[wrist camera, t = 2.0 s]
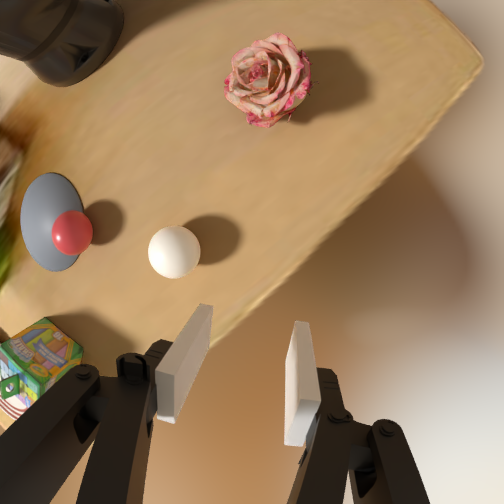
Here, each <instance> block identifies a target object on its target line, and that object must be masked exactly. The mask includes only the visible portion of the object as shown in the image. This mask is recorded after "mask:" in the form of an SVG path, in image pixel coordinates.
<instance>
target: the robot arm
mask: <svg viewBox="0 0 504 504" xmlns="http://www.w3.org/2000/svg"><path fill="white" fill-rule="evenodd" d="M123 20H124V17H123V11H122V9H121V7H120V6H119V5H118V4H117V3H116V2H115V1H114V0H0V55H4V56H7V57H11V58H14V59H17V60H20V61H23V62H24V63H25V64H26V65H27V66H28V67H29V68H30V69H31V70H32V71H33V72H34V73H35V74H36V75H37V76H38V78H39V79H40V80H42V81H43V82H45V83H47V84H50V85H53V86H56V87H66V86H70V85H73V84H75V83H77V82H79V81H81V80H83V79H84V78H86V77H87V76H88V75H90V74H91V73H92V72H93V71H94V70H95V69H96V68H97V67H98V66H99V65H100V64H101V63H102V62H103V61H104V60H105V59H106V57H107V56H108V55H109V53H110V52H111V51H112V49H113V47H114V46H115V44H116V42H117V40H118V38H119V36H120V33H121V30H122V27H123ZM212 315H213V306H210V305H205V304H199V306H198V307H197V309H196V310H195V312H194V313H193V315H192V316H191V318H190V319H189V321H188V322H187V323H186V325H185V326H184V328H183V329H182V331H181V332H180V334H179V335H178V337H177V338H176V340H175V341H174V342H170V341H166V340H162V339H160V340H158V341H157V342H155V343H153V344H152V345H151V347H150V348H149V350H147V352H146V353H145V355H141V354H138V353H126V354H123V355H121V356H119V357H118V358H117V359H116V364H117V373H118V377H105V376H99V371H98V370H97V368H95V367H94V366H92V365H88V364H79V365H75V366H74V367H72V368H71V369H69V370H68V371H67V372H66V373H65V374H64V375H63V376H62V377H61V378H60V379H59V380H58V381H57V382H55V383H54V384H53V385H52V386H51V387H50V388H49V389H48V390H47V391H46V392H45V393H44V394H43V395H42V396H41V397H40V398H39V399H38V400H36V401H35V402H34V403H33V404H32V405H31V406H30V407H29V408H28V409H27V410H26V411H25V412H24V413H23V414H22V415H21V416H20V417H19V418H18V419H17V420H16V421H15V422H14V423H13V424H12V425H11V426H10V427H9V428H8V429H7V430H6V431H5V432H4V433H3V434H2V435H1V436H0V504H49V503H50V502H51V500H52V499H53V498H54V496H55V495H56V493H57V492H58V490H59V489H60V487H61V486H62V485H63V483H64V482H65V480H66V479H67V477H68V476H69V475H70V473H71V472H72V470H73V469H74V468H75V466H76V465H77V463H78V462H79V461H80V459H81V458H82V456H83V455H84V453H85V452H86V451H87V449H88V448H89V446H90V445H91V444H92V442H93V441H94V439H95V441H94V444H93V447H92V450H91V453H90V456H89V460H88V463H87V466H86V469H85V472H84V476H83V479H82V483H81V486H80V490H79V493H78V497H77V501H76V504H142V502H143V494H144V485H145V478H146V470H147V463H148V456H149V449H150V443H151V437H152V431H153V417H154V415H155V413H156V411H157V419H160V420H163V421H166V422H170V423H175V422H176V419H177V417H178V415H179V413H180V411H181V408H182V406H183V404H184V402H185V400H186V397H187V395H188V393H189V391H190V388H191V386H192V384H193V382H194V380H195V378H196V375H197V373H198V371H199V369H200V366H201V364H202V362H203V360H204V358H205V355H206V353H207V351H208V349H209V343H210V334H211V324H212ZM285 382H286V383H285V384H286V385H285V388H286V389H285V437H284V445H291V446H303V444H304V442H305V439H306V449H305V451H304V453H303V455H302V457H301V459H300V461H299V464H300V465H299V469H298V472H297V475H296V478H295V481H294V484H293V487H292V490H291V493H290V496H289V499H288V502H287V504H343V499H344V493H345V487H346V480H347V474H348V471H349V477H350V482H351V489H352V495H353V501H354V504H430V502H429V499H428V496H427V493H426V490H425V487H424V485H423V482H422V479H421V476H420V474H419V471H418V468H417V466H416V463H415V461H414V458H413V455H412V453H411V450H410V448H409V445H408V443H407V440H406V438H405V435H404V433H403V430H402V429H401V427H400V426H399V425H398V424H397V423H395V422H394V421H391V420H387V419H381V420H377V421H376V422H374V424H373V425H372V426H370V425H366V424H362V423H359V422H356V421H354V420H353V416H352V415H351V413H350V412H349V411H347V410H346V409H345V408H344V404H343V400H342V395H341V392H340V387H339V384H338V379H337V375H336V374H335V373H334V372H333V371H332V370H331V369H326V368H317V367H316V363H315V357H314V350H313V344H312V338H311V332H310V326H309V322H302V321H295V324H294V328H293V333H292V337H291V341H290V346H289V349H288V353H287V357H286V380H285Z"/></svg>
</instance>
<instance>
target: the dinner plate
mask: <svg viewBox="0 0 504 504" xmlns="http://www.w3.org/2000/svg"><path fill="white" fill-rule="evenodd" d="M0 345H1V344H0ZM0 381H1V375H0ZM6 391H7V392H10V390H9V389H8V388H7V387H6ZM0 408H1V409H2V410H3V411H4V412H5V413H6V414H7V415H9V416H10V417H11V418H13V419H14V420H17V419H18V418H19V417H20V416H21V415H22V414H23V413H24V412H25V411H26V410H27V409H28V407H27V406H26V405H24V404H23V403H22V402H21V401H20V400H19V399H18V398H17V397H16V396H15V395H14V396H12V397H9V398H7V399H4V400H3V399H2V397H1V392H0Z"/></svg>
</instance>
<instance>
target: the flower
mask: <svg viewBox="0 0 504 504" xmlns="http://www.w3.org/2000/svg"><path fill="white" fill-rule="evenodd" d="M231 62H232V66H233V71H232V72H231V73H230V75H229V76H228V77H227V78H226V79H225V84H226V85H227V86H225V89H224V93H225V97H226V99H227V100H228V101H230V102H231V103H232V104H234V105H235V106H236V107H238V108H239V109H240V110H242V111H243V112H246V114H247V118H246V119H247V121H248V122H249V124H254V125H256V126H260V127H268V128H269V127H271V126H273V125H274V124H275V123H276V122H277V121H278V120H279V119H280V118H282V117H283V116H284V115H286V114H289V120H290V117H291V115H292V113H293V111H295V109H296V106H298V105H299V104H300V103H301V102H302V101H303V100H304V99H305V98H306V95H307V94H309V93H310V92H309V90H310V89H311V88H312V87H313V85H314V84H315V83H316V82H317V83H319V82H318V81H316V82H314V83H313V84H311V83H312V81H310V78H311V72H310V65H312V63H310V62H309V59H308V57H306V53H305V52H304V51H303V50H301V52H298V51H297V49H296V47H295V45H294V44H293V43H292V41H291V40H290V39H289V38H288V37H287V36H285V35H284V34H281V33H279V32H278V33H275V34H273V35H272V36H270V37H268V38H267V39H264V40H262V41H261V40H257V41H254V43H253V44H252V45H251V47H247V48H244V49H242V50H239V51H238V52H237V53H236V54H235V55H234V56H233V57H232V60H231ZM309 96H310V94H309ZM227 97H228V98H227ZM231 100H232V101H231ZM289 120H288V121H289ZM287 123H288V122H287Z"/></svg>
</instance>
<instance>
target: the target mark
mask: <svg viewBox="0 0 504 504" xmlns="http://www.w3.org/2000/svg"><path fill="white" fill-rule="evenodd" d="M70 210H76V211H79V212H82V213H83V208H82V205H81V201H80V199H79V196H78V194H77V192H76V190H75V189H74V187H73V186H72V184H71V183H70V182H69V181H68V180H67V179H66V178H64V177H63V176H61V175H58V174H54V173H47V174H43V175H41V176H39V177H38V178H36V179H35V180H34V181H33V182H32V183H31V185H30V186H29V188H28V189H27V191H26V194H25V196H24V199H23V203H22V208H21V229H22V235H23V238H24V242H25V244H26V247H27V249H28V251H29V253H30V254H31V256H32V257H33V258H34V260H35V261H36V262H37V263H38V264H39V265H40V266H42V267H43V268H45V269H47V270H50V271H62V270H65V269H67V268H68V267H70V266H71V265H72V264H73V263H74V262H75V260H76V259H77V257H78V255H79V254H78V255H66V254H63V253H62V252H60V251H59V250H58V249H57V248H56V246H55V245H54V243H53V240H52V227H53V224H54V222H55V220H56V219H57V217H58V216H59V215H61V214H62V213H64V212H66V211H70ZM83 214H84V213H83Z"/></svg>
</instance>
